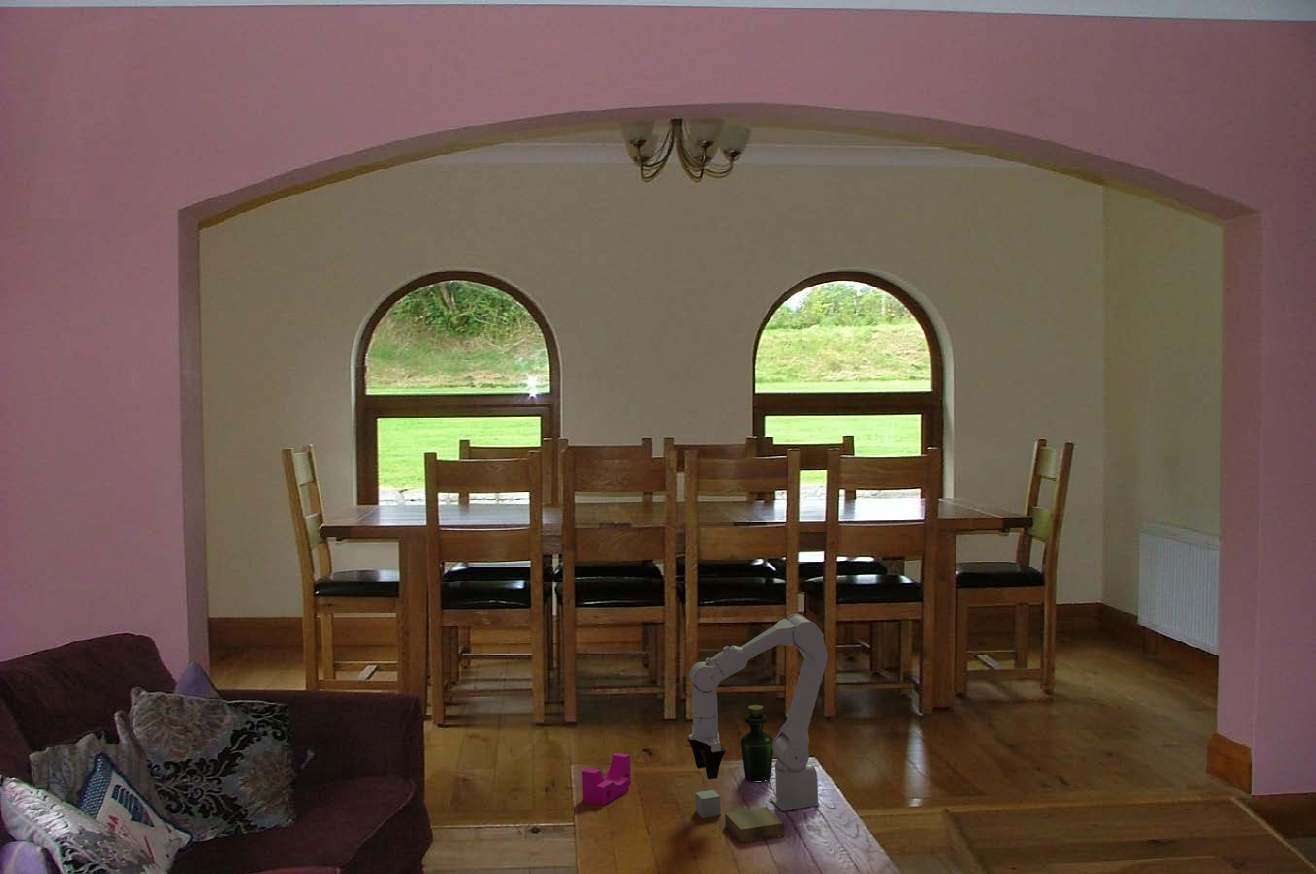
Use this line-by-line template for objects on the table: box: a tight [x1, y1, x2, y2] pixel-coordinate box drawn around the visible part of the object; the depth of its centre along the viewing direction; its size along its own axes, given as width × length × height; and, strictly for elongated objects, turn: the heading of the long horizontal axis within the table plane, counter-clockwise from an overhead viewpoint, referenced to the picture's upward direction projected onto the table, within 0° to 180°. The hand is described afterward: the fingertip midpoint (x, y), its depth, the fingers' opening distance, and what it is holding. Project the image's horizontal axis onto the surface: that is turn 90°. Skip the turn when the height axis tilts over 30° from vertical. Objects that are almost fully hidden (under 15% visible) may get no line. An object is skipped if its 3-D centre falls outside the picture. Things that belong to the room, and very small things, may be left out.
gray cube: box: [694, 789, 722, 819], centre depth 280 cm, size 4×4×4 cm
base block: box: [724, 806, 785, 844], centre depth 268 cm, size 10×10×3 cm
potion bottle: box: [740, 704, 774, 782], centre depth 301 cm, size 8×8×18 cm
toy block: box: [581, 752, 632, 806], centre depth 295 cm, size 15×6×8 cm, turn 147°
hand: (706, 773), depth 279 cm, fingers open, 7 cm apart
